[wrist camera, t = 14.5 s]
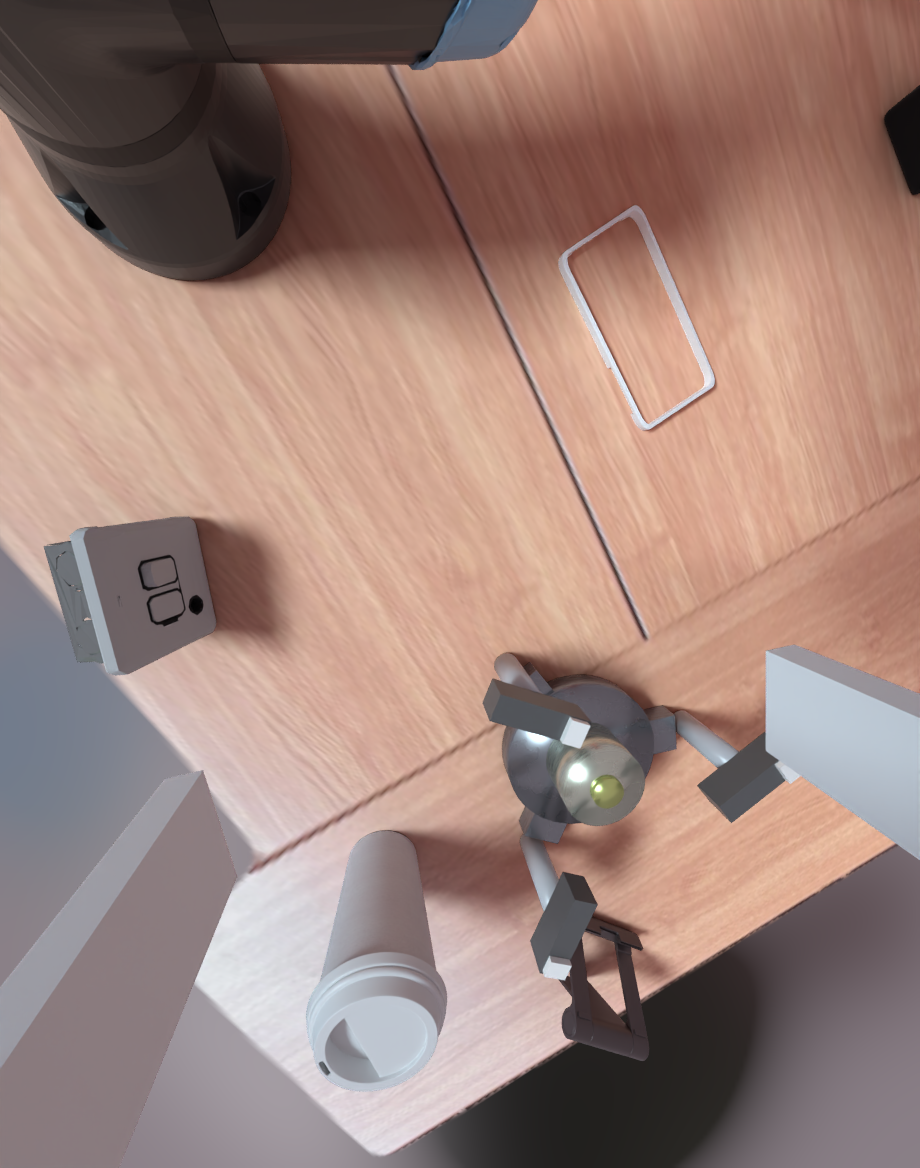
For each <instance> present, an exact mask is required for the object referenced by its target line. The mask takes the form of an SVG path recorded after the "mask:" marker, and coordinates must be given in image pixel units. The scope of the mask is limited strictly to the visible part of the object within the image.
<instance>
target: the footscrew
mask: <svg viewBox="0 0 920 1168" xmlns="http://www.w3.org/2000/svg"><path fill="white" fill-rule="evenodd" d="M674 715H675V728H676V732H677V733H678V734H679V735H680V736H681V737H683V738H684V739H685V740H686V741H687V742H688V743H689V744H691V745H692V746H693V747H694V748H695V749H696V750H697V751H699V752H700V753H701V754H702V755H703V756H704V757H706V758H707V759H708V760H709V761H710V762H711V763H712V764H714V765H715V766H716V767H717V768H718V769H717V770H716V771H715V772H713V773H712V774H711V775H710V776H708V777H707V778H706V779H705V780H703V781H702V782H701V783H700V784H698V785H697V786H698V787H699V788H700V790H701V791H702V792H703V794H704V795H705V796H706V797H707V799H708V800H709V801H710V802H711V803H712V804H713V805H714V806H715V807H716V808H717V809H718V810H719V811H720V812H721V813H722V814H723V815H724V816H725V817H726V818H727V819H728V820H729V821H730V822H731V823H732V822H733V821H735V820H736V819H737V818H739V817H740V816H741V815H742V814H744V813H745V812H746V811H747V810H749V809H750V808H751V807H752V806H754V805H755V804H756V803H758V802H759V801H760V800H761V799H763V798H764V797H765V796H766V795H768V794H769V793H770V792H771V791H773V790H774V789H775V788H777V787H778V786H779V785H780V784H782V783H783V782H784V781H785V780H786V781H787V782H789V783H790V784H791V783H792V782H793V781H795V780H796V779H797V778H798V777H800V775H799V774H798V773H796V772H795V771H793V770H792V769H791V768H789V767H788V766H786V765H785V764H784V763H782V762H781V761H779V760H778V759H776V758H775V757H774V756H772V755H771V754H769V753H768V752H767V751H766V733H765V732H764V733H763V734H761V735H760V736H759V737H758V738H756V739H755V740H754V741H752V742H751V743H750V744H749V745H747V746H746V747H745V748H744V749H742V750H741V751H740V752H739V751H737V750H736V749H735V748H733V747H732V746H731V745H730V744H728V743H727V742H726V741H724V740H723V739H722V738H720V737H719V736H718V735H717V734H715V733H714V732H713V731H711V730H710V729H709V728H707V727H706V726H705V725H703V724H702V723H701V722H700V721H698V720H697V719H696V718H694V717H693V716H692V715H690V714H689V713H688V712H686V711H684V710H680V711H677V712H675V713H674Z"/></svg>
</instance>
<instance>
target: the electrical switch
mask: <svg viewBox="0 0 920 1168" xmlns="http://www.w3.org/2000/svg"><path fill="white" fill-rule="evenodd" d="M70 539H71V541H67V542H61V543H55V544H50V545H52V546H44V549H45V553H46V556H47V560H48V563H49V567H50V570H51V573H52V577H53V580H54V584H55V587H56V591H57V594H58V598H59V601H60V604H61V608H62V611H63V615H64V618H65V622H66V625H67V629H68V632H69V636H70V639H71V642H72V646H73V649H74V653H75V656H76V660H77V662H97V663H104V666H105V669H106V672H107V673H110V674H112V675H125V674H130V673H132V672H134V671H136V670H138V669H140V668H142V667H144V666H146V665H148V664H150V663H152V662H154V661H156V660H158V659H160V658H162V657H164V656H166V655H168V654H170V653H172V652H174V651H176V650H178V649H180V648H182V647H184V646H186V645H188V644H190V643H192V642H194V641H196V640H198V639H200V638H202V637H204V636H206V635H208V634H210V633H212V632H213V631H214V629H215V627H216V618H215V614H214V609H213V604H212V600H211V595H210V590H209V585H208V581H207V576H206V571H205V567H204V562H203V557H202V552H201V548H200V543H199V538H198V534H197V529H196V524H195V522H194V521H193V520H192V519H191V518H190V517H170V518H165V519H157V520H150V521H142V522H135V523H128V524H120V525H113V526H106V527H97V526H95V527H85V528H80V529H77V530H76V531H75V532H73V533H72V534H71V535H70ZM61 554H62V555H61ZM59 555H61V556H59ZM71 585H74V586H71ZM77 590H81V591H80V592H78V591H77ZM86 617H88V618H90V619H92V620H86V621H84V619H85V618H86ZM78 643H79V644H78ZM79 645H80V646H81V647H80V646H79Z"/></svg>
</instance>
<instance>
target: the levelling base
mask: <svg viewBox="0 0 920 1168" xmlns="http://www.w3.org/2000/svg"><path fill="white" fill-rule="evenodd" d="M523 668H524V670H525V671H526V672H527V674H528V675H529V677H530V678H531V679H532V681H533V682H534V684H535V685H536V686H537V688H538V689H539V691H540V692H541V693H542V694H545V695H548V696H551V697H554V698H557V699H561V700H564V701H567V702H570V703H574V704H577V705H578V706H579V707H580V708H581V710H582V711H583V712H584V713H585V714H586V716H587V717H588V718H589V719H590V720H591V722H592V723H591V725H590V728H589V730H588V733H587V735H586V737H585V739H584V741H583V744H582V746H581V748H576V747H573V746H569V745H566V744H562V742H561V741H558V740H554V739H551V738H548V737H544V736H541V735H537V734H534V733H530V732H527V731H523V730H520V729H516V728H513V727H509V726H506V729H505V732H504V736H503V742H502V756H503V762H504V766H505V769H506V771H507V774H508V776H509V779H510V782H511V784H512V787H513V789H514V791H515V793H516V795H517V797H518V798H519V799H520V801H521V802H522V803H523V804H524V805H525V808H524V811H523V813H522V815H521V817H520V820H519V822H520V825H521V828H522V831H523V833H524V836H527V837H531V838H535V839H540V840H544V841H548V842H552V843H556V844H558V842H559V840H560V838H561V836H562V834H563V832H564V829H565V827H566V825H567V823H568V824H574V823H584V824H587V825H592V826H603V825H608V824H612V823H614V822H617V821H619V820H621V819H622V818H624V817H625V816H627V815H628V814H629V813H630V812H631V811H632V810H633V809H634V808H635V807H636V805H637V804H638V803H639V801H640V799H641V797H642V794H643V791H644V786H645V778H646V776H647V774H648V771H649V769H650V766H651V763H652V759H653V754H657V753H661V752H666V751H670V750H674V749H676V728H675V715H674V714H673V713H671V712H670V711H669V710H668V709H666V708H665V707H664V706H663V705H662V706H658V707H653V708H649V709H644V710H643V709H642V708H641V707H640V706H639V705H638V704H637V703H636V702H635V701H634V700H633V699H632V698H631V697H630V696H628V695H627V694H626V693H625V692H624V691H623V690H622V689H620V688H619V687H618V686H617V685H615V684H613V683H612V682H610V681H608V680H605V679H603V678H600V677H596V676H591V675H570V676H564V677H561V678H557V679H554V680H552V681H549V682H546V681H545V680H544V678H543V677H542V676H541V675H540V673H539V672H538V671H537V670H536V669H535V667H534V666H533V665H532V664H531V663H530V662H529V663H528V664H527V665H526V666H524V667H523Z"/></svg>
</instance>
